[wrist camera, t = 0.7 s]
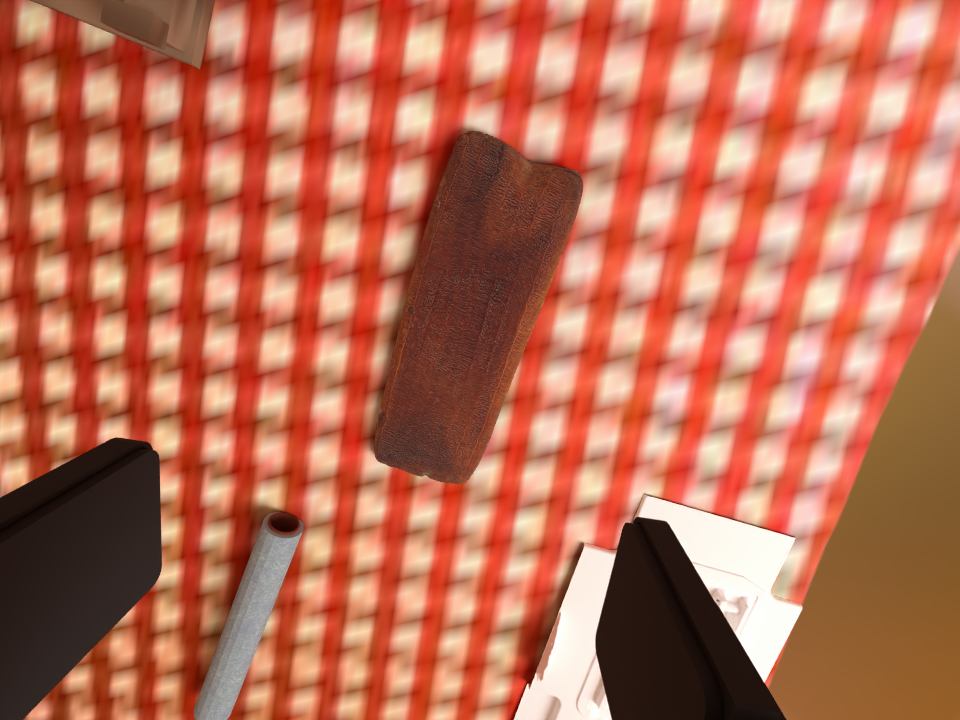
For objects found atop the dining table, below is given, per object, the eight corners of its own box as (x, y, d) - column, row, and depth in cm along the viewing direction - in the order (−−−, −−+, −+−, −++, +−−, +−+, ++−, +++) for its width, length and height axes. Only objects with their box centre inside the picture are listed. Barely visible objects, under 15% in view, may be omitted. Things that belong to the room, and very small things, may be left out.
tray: (826, 540, 42) (856, 568, 39) (701, 770, 49) (717, 813, 46) (603, 478, 42) (613, 501, 38) (508, 721, 48) (509, 760, 45)
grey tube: (238, 699, 49) (220, 733, 45) (174, 677, 48) (151, 709, 45) (310, 518, 43) (295, 542, 40) (238, 490, 43) (217, 512, 39)
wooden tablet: (457, 126, 34) (455, 121, 33) (589, 175, 35) (594, 171, 33) (358, 453, 41) (352, 462, 39) (471, 489, 41) (470, 500, 40)
